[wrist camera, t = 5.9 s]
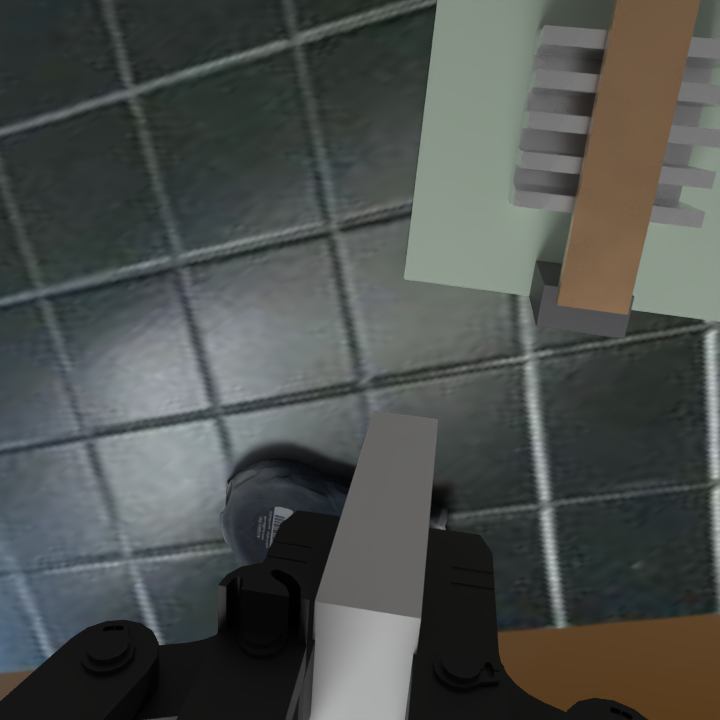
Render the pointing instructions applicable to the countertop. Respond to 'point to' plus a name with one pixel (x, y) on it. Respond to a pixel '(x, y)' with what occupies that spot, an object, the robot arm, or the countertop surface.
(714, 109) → the board
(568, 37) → the heatsink
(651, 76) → the strap
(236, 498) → the electronic device
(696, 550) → the countertop surface
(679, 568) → the countertop surface
